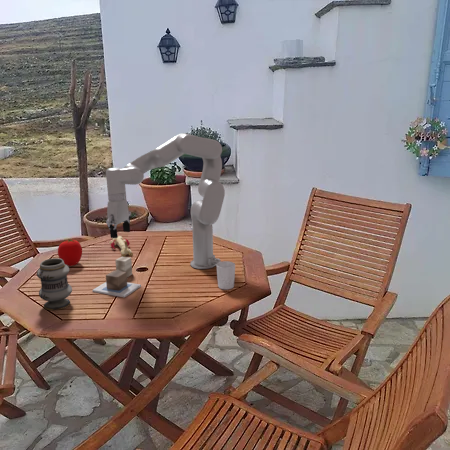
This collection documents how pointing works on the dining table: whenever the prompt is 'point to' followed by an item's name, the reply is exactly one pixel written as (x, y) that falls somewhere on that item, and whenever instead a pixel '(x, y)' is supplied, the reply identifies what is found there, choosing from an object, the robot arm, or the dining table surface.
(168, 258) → the dining table surface
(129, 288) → the board
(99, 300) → the dining table surface
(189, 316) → the dining table surface
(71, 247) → the tomato
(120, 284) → the walnut cube
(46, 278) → the apothecary jar
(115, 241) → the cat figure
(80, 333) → the dining table surface
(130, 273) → the ash pillar
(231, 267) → the white cup
